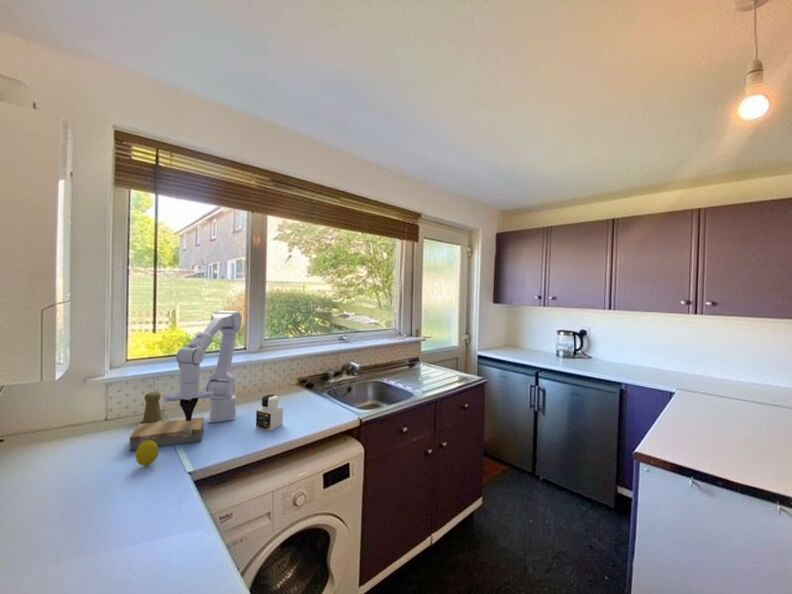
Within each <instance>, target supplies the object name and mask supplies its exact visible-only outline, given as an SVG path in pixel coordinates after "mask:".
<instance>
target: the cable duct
mask: <svg viewBox="0 0 792 594" xmlns="http://www.w3.org/2000/svg"><path fill="white" fill-rule="evenodd" d="M204 423H205V421H204V422H203V426H202V431H201V433H199V434H192V436H190V437H183V436H175V437H167V438H159V439H151V441H154V442H156V444H157V445H158V448H164V447H170V446H171V447H172V446H181V445H187V444H194V443H201V442H202V438H203V434H204V428H205V427H204V425H205V424H204ZM140 444H141V443H140V441H135V442H130V441H129V452H133V451H135V452H136V451H137V448H138V446H139V445H140Z"/></svg>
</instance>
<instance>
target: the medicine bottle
mask: <svg viewBox="0 0 792 594" xmlns="http://www.w3.org/2000/svg"><path fill="white" fill-rule="evenodd" d="M255 415H256V416H255V419H256V420H255V428H256V429H257V428H258V429H260V428H261V430H265V431H268V432H271V431H272V430H275V429H277V428H279V427H280V426H282V425H283V421H284V418H283V415H284V408H283V406H280V405H279V396H278V395H275V394H266V395H264V396H263V397H262V398H261V407H260V408H258V409H256V414H255ZM276 427H277V428H276Z"/></svg>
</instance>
